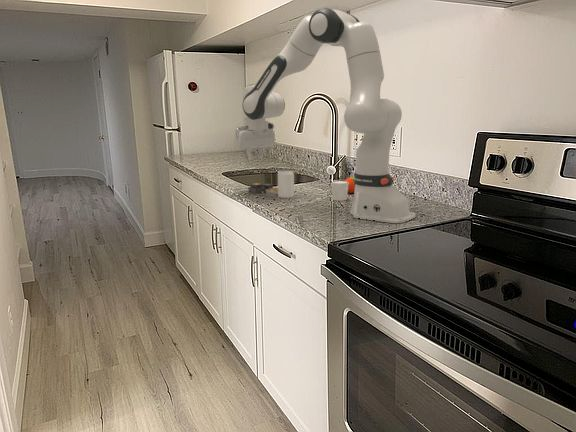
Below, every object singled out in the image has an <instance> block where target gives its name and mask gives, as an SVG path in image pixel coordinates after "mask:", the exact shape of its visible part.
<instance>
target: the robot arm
mask: <svg viewBox="0 0 576 432" xmlns="http://www.w3.org/2000/svg"><path fill="white" fill-rule="evenodd" d="M324 44H325V45H329V46H333V47H342V48H344V52H345V57H346V63H347V70H348V75H349V82H350V96H349V101H348V105H347V106H346V108H345V110H344V115H343V120H344V123H345V126H346V127H347V128H348V129H349V130H350V131H352V132H355V133H359V134H363V136H362V139H361V142H360V144H359V146H358V147H357V148H356V152H355V172H354V186H355V191H354V193H353V200H352V205H351V207H350V208H351V209H350V212H349V213H350V214H351V215H352V217H353V218H354V219H358V218H360V220H366V219H367V220H368V221H373V220H375V222H381V223H382V222H383V223H390V224H401V223H407V222H409V220H410V221H412V220H414V219H415V218H416V212H412V211H410V206H409V205H410V204H409V199H408V198H407V197H406V195H404V194H403V193H401V192H400V191H399V190H398V189H397V188H396V187H395V186H394V185H393V181H395V178H396V176H391V175H390V173H389V165H390V163H389V161H390V151H391V148H392V147H391V146H392V142H393V140H394V139H393V137H394V136H395V131H396V129H397V127H398V125H399V124H400V123H401V120H402V109H401V107H400V105H399V104H398V103H397V102H395V101H394V100H390V99H389V98H381V86H382V83H383V81H384V79H385V73H384V67H383V62H382V55H381V49H380V46H379V41H378V38H377V35H376V32H375V29H374V27H373V25H372V24H371V23H369V22H366V21H360V20H359V19H358V17H356V16H355V15H353V14H348V13H346V12H344V11H342V10H338V9H332V8H328V7H326V8H319V9H316V10H315V11H314V12H313V13H312V15H306V16H305V17H303V19H302V20H301V21H300V22H299V23H298V25H296V28H295V29H294V30H293V32H292V34H291V35H290V38H289V39H288V41H287V43H286V44H285V45H284V47H283V49H282V50H281V51H280V52H279V53H278V54H277V56H275V57H274V59H273V60H272V61H271V62H270V63H269V64H268V66H267V67H266V69H265V71H264V72H263V73H262V75H261V76H260V77H259V79H258V81H257V82H256V83H253V84H252V83H251V84H248V85H247V86H246V87H244V89H243V96H242V97H243V98H242V110H243V113H244V114H243V126H237V128H236V129H235V135H234V148H235V150H237V151H245V153H246V155H247V158H248V160H249V161H253V160H254V159H255V156H254V155H253V154H252V152H253V149H254V150H256V149H258V150H259V152H258V153H257V159H259V160H260V159H261V160H262V159H264V154H265V151H266V149H265V148H271V147H272V148H273V147H274V146H275V145H276V133H275V130H274V129H275V124H274V123H272V122H270V121H267V120H266V119H271V118H277V117H280V116H282V115H283V113H284V111H285V109H286V108H285V107H286V103H285V98H284V97H283V95H281V94H280V93H277V92H276V91H275V92H274V89H275V88H276V86H277V85H278V83H279V82H280V81H281V80H282V79H284V78H286V77H288V76H290V75H293V74H296V73H300V72H303V71H304V70H305V71H306V69H307V68H308V67H309V66H310V65H311V64H312V62H313V61H314V60H315V57H316V56H317V54H318V52H319V50H320V49H321V47H322V46H323V45H324ZM413 218H414V219H413ZM411 219H412V220H411ZM367 220H366V221H367ZM406 221H407V222H406Z"/></svg>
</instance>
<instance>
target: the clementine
mask: <svg viewBox="0 0 576 432" xmlns="http://www.w3.org/2000/svg"><path fill="white" fill-rule="evenodd" d="M344 181H346V182H349V184H348V193H347V194H354V191H355V186H354V177H353V176H351V177H350V176H349V177H347V178H346V179H345V180H344Z"/></svg>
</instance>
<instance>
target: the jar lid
mask: <svg viewBox="0 0 576 432" xmlns="http://www.w3.org/2000/svg"><path fill="white" fill-rule="evenodd" d="M265 193H266V194H273V195H277V196H278V187H273V188H268V189H266V190H265Z"/></svg>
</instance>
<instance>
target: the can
mask: <svg viewBox="0 0 576 432" xmlns="http://www.w3.org/2000/svg"><path fill="white" fill-rule="evenodd" d="M294 175H295V174H294V171H293V168H279V169H278V172H277V188H278V195H277V197H278V198H287V199H289V198H293V197H295V179H294V178H295V176H294Z"/></svg>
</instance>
